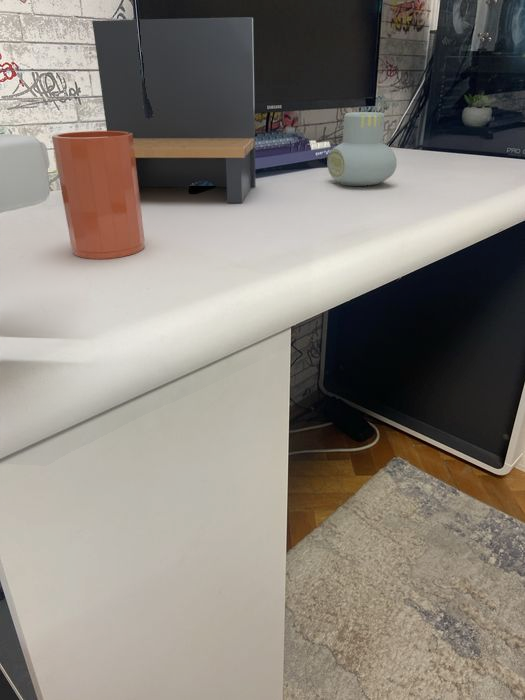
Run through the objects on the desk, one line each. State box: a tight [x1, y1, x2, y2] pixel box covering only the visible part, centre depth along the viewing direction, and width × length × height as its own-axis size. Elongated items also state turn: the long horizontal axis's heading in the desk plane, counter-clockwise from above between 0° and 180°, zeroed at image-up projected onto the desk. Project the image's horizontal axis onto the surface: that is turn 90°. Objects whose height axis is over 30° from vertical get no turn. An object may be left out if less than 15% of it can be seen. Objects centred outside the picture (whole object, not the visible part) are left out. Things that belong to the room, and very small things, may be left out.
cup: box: [51, 130, 146, 260], centre depth 50 cm, size 7×7×10 cm
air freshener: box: [326, 111, 398, 187], centre depth 81 cm, size 11×8×10 cm
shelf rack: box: [92, 16, 257, 204], centre depth 72 cm, size 22×13×22 cm, turn 85°
